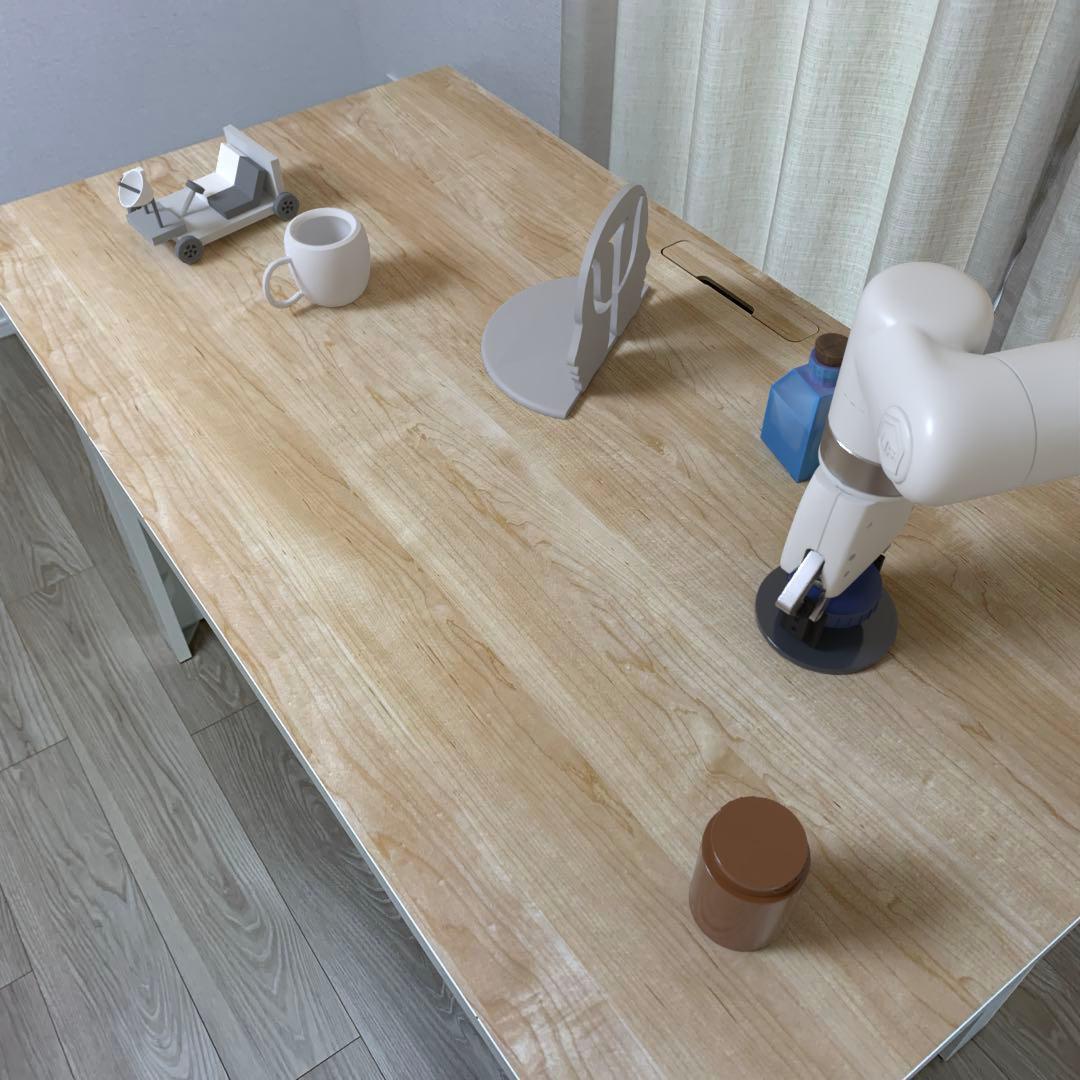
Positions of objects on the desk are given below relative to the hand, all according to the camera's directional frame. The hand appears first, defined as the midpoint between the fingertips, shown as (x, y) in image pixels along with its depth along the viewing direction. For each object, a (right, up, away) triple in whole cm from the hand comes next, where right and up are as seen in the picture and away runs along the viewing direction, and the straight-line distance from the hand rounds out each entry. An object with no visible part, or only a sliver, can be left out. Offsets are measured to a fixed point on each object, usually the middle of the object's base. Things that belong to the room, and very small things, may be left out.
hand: (827, 605), depth 82 cm
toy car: (-60, +41, +37) cm, 82 cm away
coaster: (0, -1, +1) cm, 1 cm away
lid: (0, +2, -2) cm, 3 cm away
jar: (-10, -18, -14) cm, 25 cm away
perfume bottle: (+2, +13, +13) cm, 18 cm away
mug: (-45, +30, +28) cm, 61 cm away
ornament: (-21, +26, +24) cm, 41 cm away
